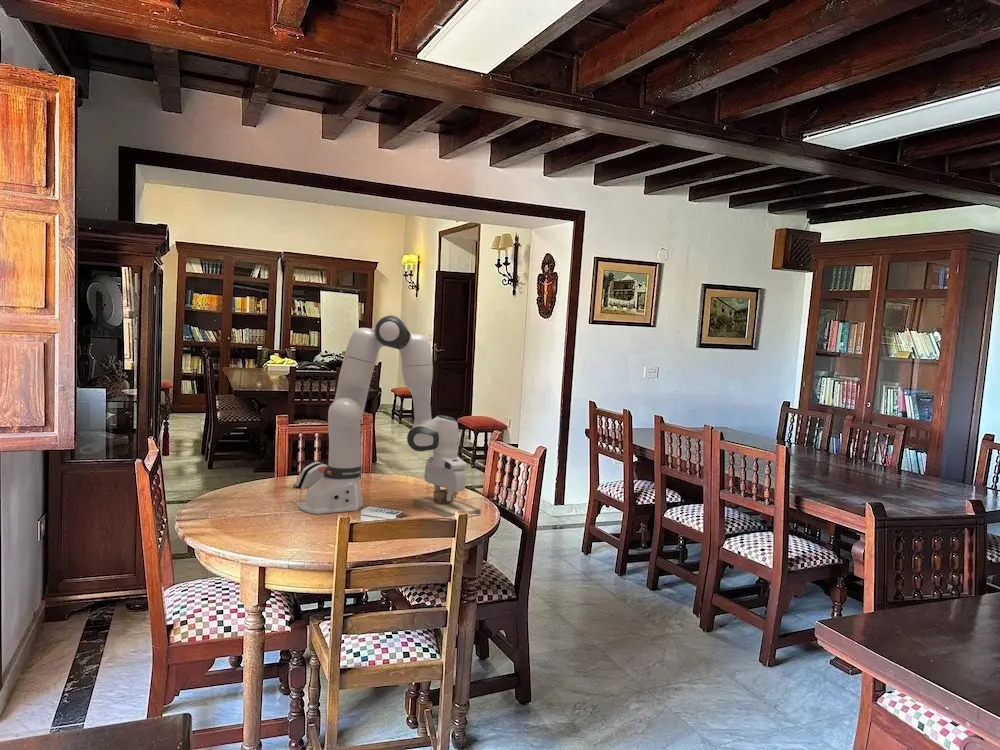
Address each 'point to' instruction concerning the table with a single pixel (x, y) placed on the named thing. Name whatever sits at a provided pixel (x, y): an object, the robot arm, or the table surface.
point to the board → (445, 506)
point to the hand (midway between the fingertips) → (443, 498)
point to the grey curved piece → (310, 475)
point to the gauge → (443, 496)
